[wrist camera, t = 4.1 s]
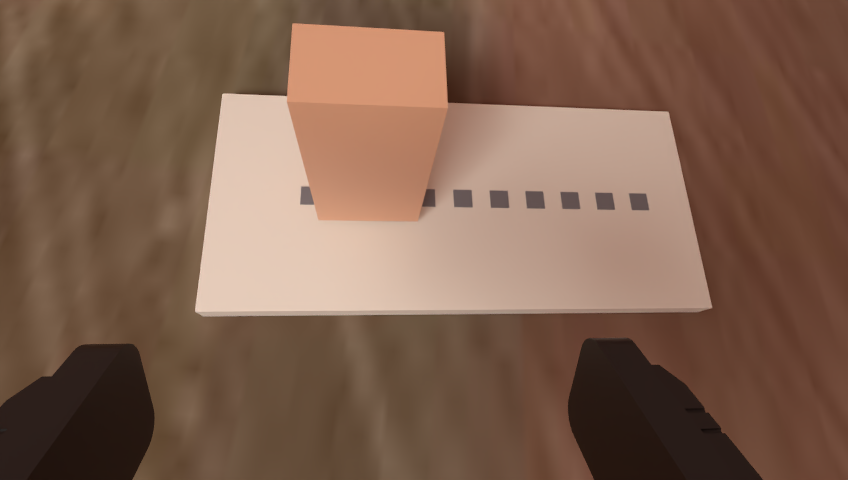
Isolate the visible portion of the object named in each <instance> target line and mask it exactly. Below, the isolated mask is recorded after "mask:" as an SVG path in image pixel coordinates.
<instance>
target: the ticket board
mask: <svg viewBox="0 0 848 480" xmlns="http://www.w3.org/2000/svg"><path fill="white" fill-rule="evenodd" d="M710 308H712V305H711V300H710V296H709V291H708V287H707V282H706V278H705V273H704V269H703V264H702V260H701V255H700V251H699V246H698V242H697V237H696V233H695V228H694V224H693V219H692V215H691V210H690V206H689V201H688V197H687V192H686V188H685V183H684V179H683V174H682V170H681V165H680V161H679V157H678V152H677V148H676V143H675V139H674V134H673V130H672V125H671V121H670V116H669V112H661V111H637V110H612V109H588V108H564V107H539V106H515V105H490V104H466V103H448V110H447V114H446V117H445V121H444V125H443V129H442V132H441V136H440V140H439V144H438V147H437V151H436V155H435V159H434V162H433V166H432V170H431V174H430V178H429V181H428V185H427V189H426V193H425V196H424V200H423V204H422V208H421V211H420V215H419V219H418V222H417V221H341V220H318V217H317V213H316V209H315V205H314V202H313V198H312V194H311V190H310V187H309V183H308V179H307V175H306V172H305V168H304V164H303V160H302V157H301V153H300V149H299V146H298V142H297V138H296V134H295V131H294V127H293V123H292V119H291V116H290V112H289V108H288V104H287V96H271V95H246V94H223V95H222V102H221V110H220V118H219V126H218V134H217V142H216V150H215V158H214V166H213V174H212V182H211V190H210V197H209V205H208V213H207V221H206V229H205V237H204V245H203V253H202V261H201V269H200V277H199V285H198V292H197V300H196V308H195V312H196V313H198V314H200V315H202V316H298V315H417V314H536V313H655V312H700V311H703V310H707V309H710Z"/></svg>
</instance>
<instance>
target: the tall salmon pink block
mask: <svg viewBox="0 0 848 480" xmlns="http://www.w3.org/2000/svg"><path fill="white" fill-rule="evenodd" d="M287 104H288V108H289V112H290V116H291V119H292V123H293V127H294V131H295V134H296V138H297V142H298V146H299V149H300V153H301V157H302V160H303V164H304V168H305V172H306V175H307V179H308V183H309V187H310V190H311V194H312V198H313V202H314V205H315V209H316V213H317V217H318V220H341V221H417V222H418V219H419V215H420V211H421V208H422V204H423V200H424V196H425V193H426V189H427V185H428V181H429V178H430V174H431V170H432V166H433V162H434V159H435V155H436V151H437V147H438V144H439V140H440V136H441V132H442V129H443V125H444V121H445V117H446V114H447V110H448V99H447V79H446V60H445V40H444V32H434V31H416V30H399V29H382V28H364V27H347V26H329V25H312V24H294V23H293V26H292V39H291V52H290V66H289V79H288V92H287Z"/></svg>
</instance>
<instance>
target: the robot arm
mask: <svg viewBox="0 0 848 480" xmlns="http://www.w3.org/2000/svg"><path fill="white" fill-rule="evenodd" d="M568 414H569V421H570V426H571V429H572V432H573V434H574V437H575V439H576V441H577V443H578V445H579V448H580V450H581V452H582V454H583V456H584V458H585V461H586V463H587V465H588V467H589V469H590V471H591V473H592V476H593V478H594V480H763V479H762V478H761V477H760V476H759V474H758V473H757V472H756V471H755V469H754V468H753V467H752V466H751V464H750V463H749V462H748V461H747V460H746V458H745V457H744V456H743V455H742V453H741V452H740V451H739V450H738V448H737V447H736V446H735V445H734V444H733V442H732V441H731V440H730V439H729V437H728V436H727V435H726V434H725V433H722V432H721V428H720V426H719V425H718V424H717V423H716V421H715V420H714V419H713V418H712V417H711V415H710V414H709V413H705V411H704V407H703V405H702V404H701V403H700V402H699V401H698V399H697V398H696V397H695V396H694V394H693V393H692V392H691V391H690V390H689V388H688V387H687V386H686V385H685V384H684V383H683V382H681V381H680V380H679V379H677V378H676V377H675V376H673V375H672V374H671V373H669V372H668V371H666V370H665V369H664V368H662V367H661V366H660V365H651V364H650V363H649V361H648V360H647V359H646V357H645V356H644V355H643V354H642V352H641V351H640V350H639V348H638V347H637V346H636V344H635V343H634V342H633V341H632V340H631V339H629V338H588V339H586V340H585V341H584V343H583V345H582V348H581V352H580V356H579V360H578V364H577V368H576V372H575V376H574V380H573V384H572V388H571V392H570V396H569V402H568ZM153 429H154V409H153V405H152V401H151V397H150V393H149V389H148V385H147V381H146V377H145V373H144V370H143V366H142V362H141V358H140V354H139V351H138V349H137V348H136V347H135V346H134V345H133V344H86V345H81V346H79V347H78V348H76V349H75V350H74V351H73V352H72V353H71V355H70V356H69V357H68V358H67V359H66V360H65V362H64V363H63V364H62V365H61V366H60V368H59V369H58V370H57V371H56V372H55V373H54V375H53V376H52V377H41V378H39V379H38V380H36V381H35V382H33V383H32V384H30V385H29V386H27V387H26V388H24V389H23V390H21V391H20V392H19V393H17V394H16V395H14V396H13V397H11V398H10V399H8V400H7V401H6V402H5V403H4V404H3V405H2V406H1V407H0V480H132V479H133V477H134V475H135V473H136V471H137V469H138V467H139V465H140V463H141V461H142V459H143V457H144V455H145V453H146V451H147V449H148V447H149V444H150V442H151V438H152V434H153Z"/></svg>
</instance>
